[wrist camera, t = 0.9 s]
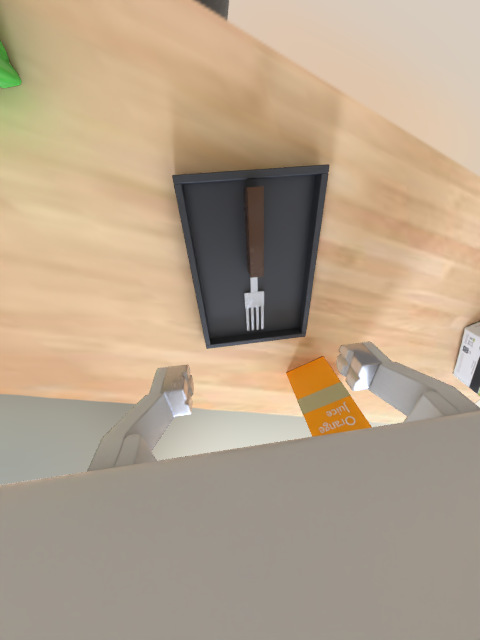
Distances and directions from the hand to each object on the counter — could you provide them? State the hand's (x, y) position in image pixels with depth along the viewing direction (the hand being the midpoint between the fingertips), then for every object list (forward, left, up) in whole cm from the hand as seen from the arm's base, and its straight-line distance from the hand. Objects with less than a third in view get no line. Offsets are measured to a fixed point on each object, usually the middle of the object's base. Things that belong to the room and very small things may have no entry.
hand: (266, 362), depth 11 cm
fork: (+1, +2, -18) cm, 18 cm away
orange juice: (+24, +13, -18) cm, 33 cm away
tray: (+1, +2, -18) cm, 18 cm away
